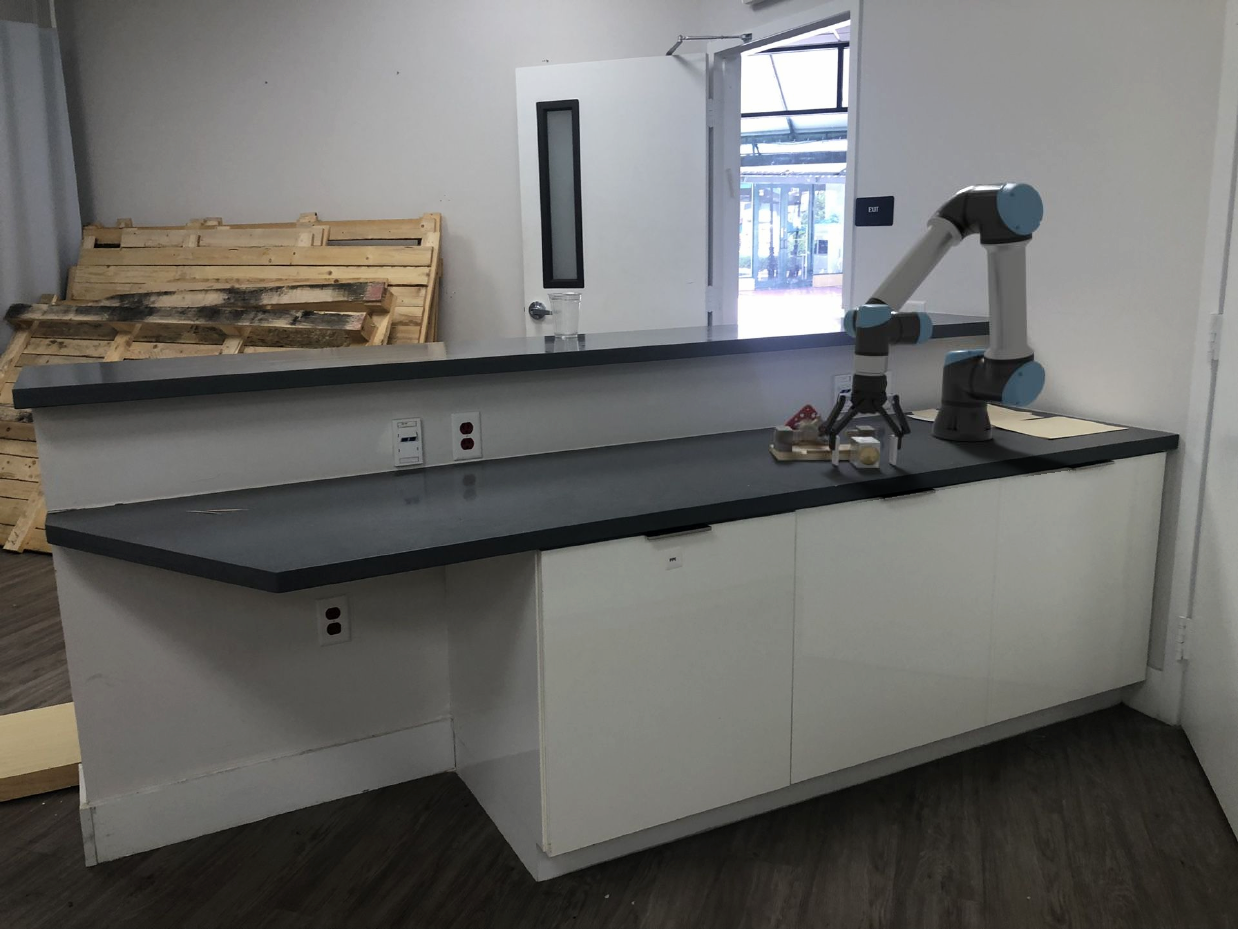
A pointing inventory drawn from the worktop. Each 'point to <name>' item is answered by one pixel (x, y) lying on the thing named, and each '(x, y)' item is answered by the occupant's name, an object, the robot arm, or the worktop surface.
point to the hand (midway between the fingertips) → (863, 463)
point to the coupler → (865, 452)
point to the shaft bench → (811, 444)
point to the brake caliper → (808, 425)
